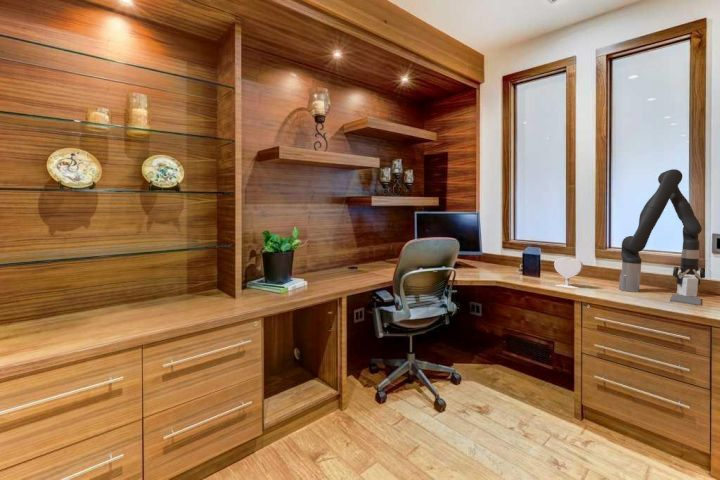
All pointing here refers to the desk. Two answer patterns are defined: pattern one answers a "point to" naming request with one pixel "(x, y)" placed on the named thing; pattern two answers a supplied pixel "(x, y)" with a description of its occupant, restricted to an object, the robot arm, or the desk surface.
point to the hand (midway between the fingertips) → (688, 284)
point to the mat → (686, 299)
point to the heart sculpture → (568, 269)
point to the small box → (688, 286)
